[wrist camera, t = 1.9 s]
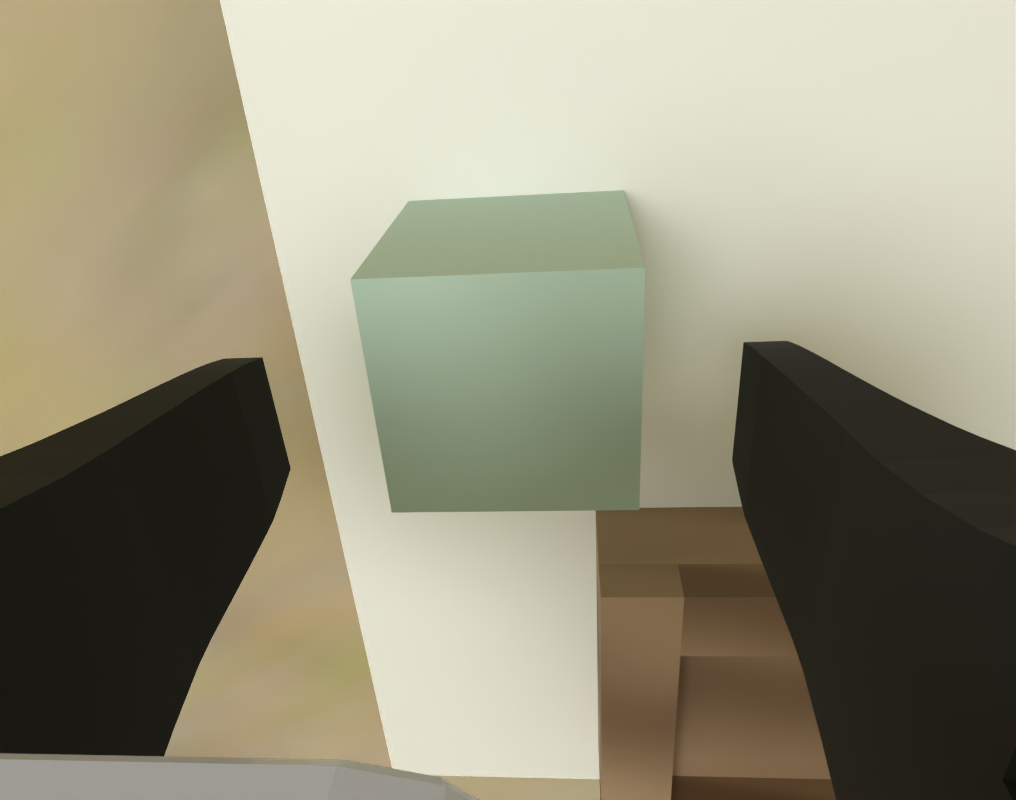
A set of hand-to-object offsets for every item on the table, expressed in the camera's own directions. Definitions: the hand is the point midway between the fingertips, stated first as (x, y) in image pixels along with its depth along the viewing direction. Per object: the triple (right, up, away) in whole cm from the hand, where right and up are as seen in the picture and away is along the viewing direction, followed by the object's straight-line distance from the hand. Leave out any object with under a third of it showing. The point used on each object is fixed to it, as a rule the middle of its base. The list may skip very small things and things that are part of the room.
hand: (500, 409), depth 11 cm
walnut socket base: (+7, -6, +9) cm, 13 cm away
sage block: (0, +2, +4) cm, 5 cm away
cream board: (+4, -2, +7) cm, 8 cm away
